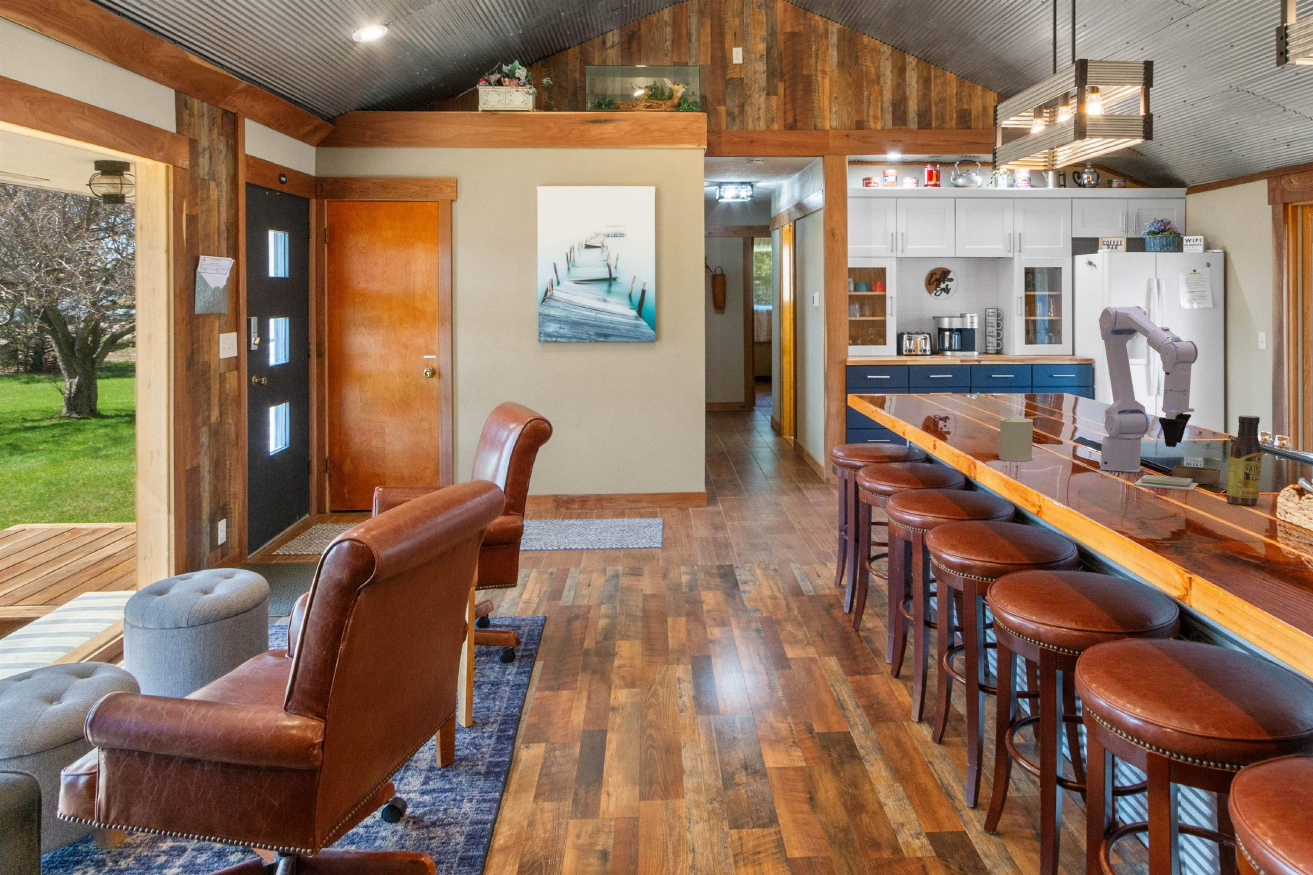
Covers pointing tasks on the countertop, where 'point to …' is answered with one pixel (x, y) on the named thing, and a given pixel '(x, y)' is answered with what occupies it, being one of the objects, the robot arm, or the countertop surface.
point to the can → (1016, 439)
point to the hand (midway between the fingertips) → (1173, 444)
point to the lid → (1166, 480)
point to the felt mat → (1186, 487)
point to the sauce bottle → (1245, 464)
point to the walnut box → (1197, 474)
